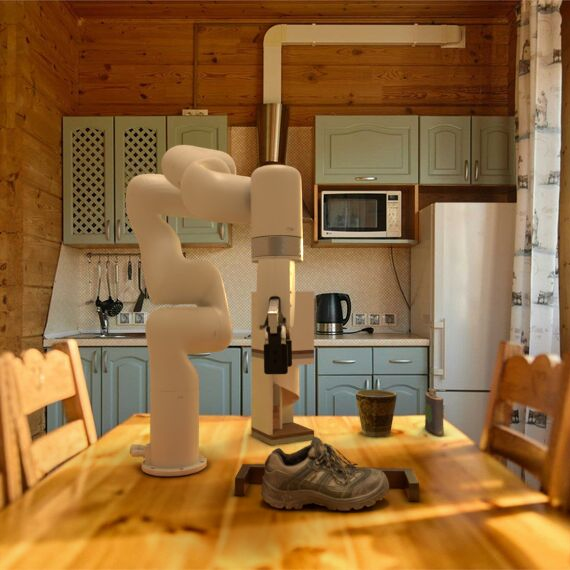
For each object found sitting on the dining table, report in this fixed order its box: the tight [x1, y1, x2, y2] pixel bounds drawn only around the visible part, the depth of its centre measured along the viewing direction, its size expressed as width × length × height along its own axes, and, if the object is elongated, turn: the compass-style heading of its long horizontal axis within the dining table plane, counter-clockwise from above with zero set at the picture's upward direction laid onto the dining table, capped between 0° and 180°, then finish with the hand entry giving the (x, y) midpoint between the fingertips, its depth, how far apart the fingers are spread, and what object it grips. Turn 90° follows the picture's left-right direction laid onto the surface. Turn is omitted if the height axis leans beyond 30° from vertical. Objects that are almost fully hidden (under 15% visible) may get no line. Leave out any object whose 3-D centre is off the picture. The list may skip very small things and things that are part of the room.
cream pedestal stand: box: [250, 290, 315, 446], centre depth 130 cm, size 11×11×35 cm
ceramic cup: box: [355, 389, 398, 438], centre depth 132 cm, size 13×10×10 cm
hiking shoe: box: [260, 436, 390, 511], centre depth 89 cm, size 9×21×12 cm
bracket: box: [234, 463, 420, 503], centre depth 94 cm, size 31×8×3 cm, turn 85°
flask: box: [424, 388, 445, 437], centre depth 135 cm, size 9×3×11 cm, turn 2°
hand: (279, 370), depth 78 cm, fingers open, 9 cm apart
